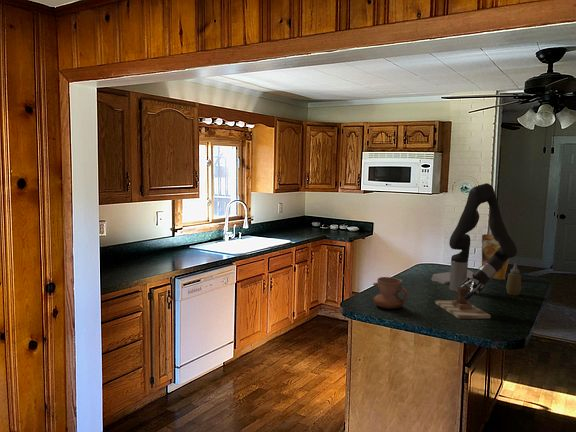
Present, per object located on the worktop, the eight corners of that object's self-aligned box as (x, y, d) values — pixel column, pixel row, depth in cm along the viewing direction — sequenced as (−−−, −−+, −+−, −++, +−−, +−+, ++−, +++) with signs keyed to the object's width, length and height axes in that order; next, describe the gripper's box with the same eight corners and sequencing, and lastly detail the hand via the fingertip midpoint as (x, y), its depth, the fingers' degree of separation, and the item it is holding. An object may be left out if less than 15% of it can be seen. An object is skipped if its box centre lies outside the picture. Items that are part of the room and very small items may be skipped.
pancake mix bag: (480, 274, 334) (483, 233, 331) (509, 279, 321) (513, 237, 318) (476, 275, 329) (479, 234, 326) (506, 280, 316) (509, 237, 313)
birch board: (435, 303, 257) (435, 300, 257) (463, 302, 260) (463, 300, 260) (459, 318, 232) (459, 315, 232) (490, 318, 234) (490, 315, 234)
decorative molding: (478, 283, 320) (466, 276, 328) (480, 276, 319) (468, 269, 327) (442, 288, 302) (431, 280, 310) (445, 281, 301) (433, 274, 308)
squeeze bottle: (506, 291, 287) (508, 261, 285) (521, 294, 283) (524, 263, 281) (504, 294, 280) (507, 263, 278) (520, 297, 276) (522, 265, 274)
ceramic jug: (366, 307, 246) (368, 279, 244) (377, 300, 258) (379, 274, 256) (401, 314, 237) (403, 286, 235) (410, 307, 249) (412, 280, 247)
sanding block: (451, 304, 250) (452, 285, 249) (462, 304, 251) (463, 285, 250) (460, 310, 241) (461, 290, 240) (471, 310, 242) (473, 290, 241)
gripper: (472, 265, 252) (450, 287, 251) (487, 271, 238) (463, 295, 237) (481, 275, 253) (459, 297, 253) (496, 282, 239) (473, 305, 239)
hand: (461, 296), depth 245 cm, fingers open, 8 cm apart
